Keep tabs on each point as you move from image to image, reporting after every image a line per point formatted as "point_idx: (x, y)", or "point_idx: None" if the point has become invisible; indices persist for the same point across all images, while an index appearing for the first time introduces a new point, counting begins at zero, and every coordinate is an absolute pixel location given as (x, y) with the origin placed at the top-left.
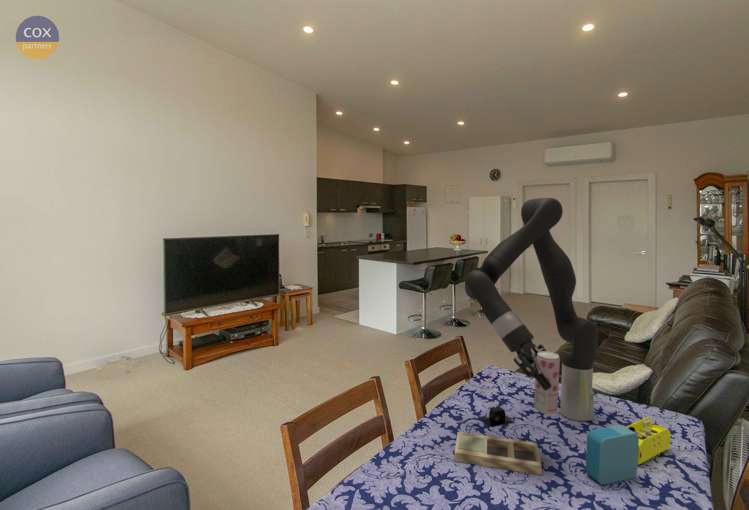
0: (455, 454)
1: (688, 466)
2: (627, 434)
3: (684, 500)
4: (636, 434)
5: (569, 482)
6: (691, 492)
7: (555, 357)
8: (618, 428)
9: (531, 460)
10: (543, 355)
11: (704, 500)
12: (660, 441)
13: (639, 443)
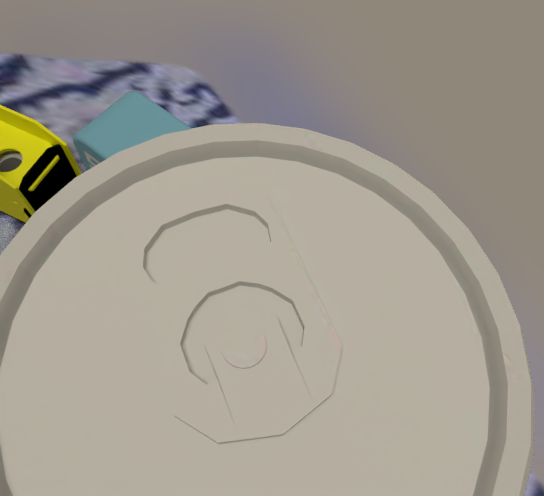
0: None
1: (15, 79)
2: (169, 114)
3: (208, 100)
4: (136, 92)
5: None
6: (159, 85)
7: (310, 181)
8: (128, 142)
9: None
10: (344, 463)
11: (181, 67)
12: None
13: (23, 147)
